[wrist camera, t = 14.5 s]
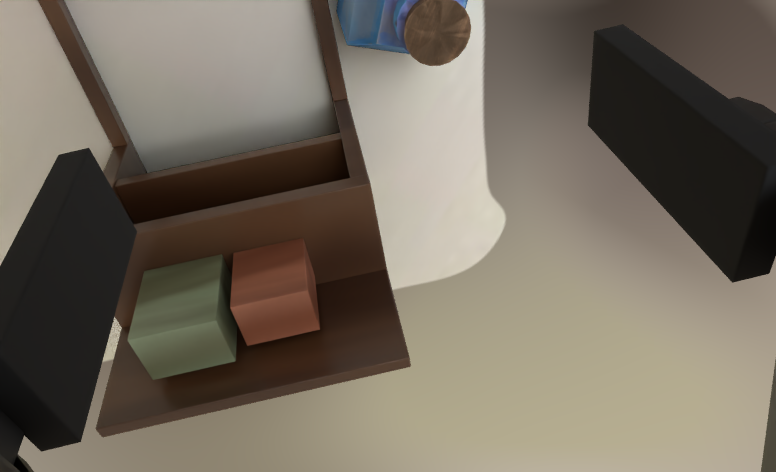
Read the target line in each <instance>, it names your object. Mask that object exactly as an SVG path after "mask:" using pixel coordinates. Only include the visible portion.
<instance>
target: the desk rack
mask: <svg viewBox="0 0 776 472" xmlns="http://www.w3.org/2000/svg"><path fill="white" fill-rule="evenodd" d="M38 1H39V3H40V5H41V7H42V9H43V11H44V13H45V15H46V17H47V19H48V21H49V22H50V24H51V26H52V28H53V30H54V32H55V34H56V36H57V38H58V40H59V42H60V44H61V46H62V48H63V50H64V52H65V54H66V56H67V58H68V60H69V62H70V64H71V66H72V68H73V70H74V72H75V74H76V76H77V78H78V80H79V81H80V83H81V85H82V87H83V89H84V91H85V93H86V95H87V97H88V99H89V101H90V103H91V105H92V107H93V109H94V111H95V113H96V115H97V117H98V119H99V121H100V123H101V125H102V127H103V129H104V131H105V133H106V135H107V137H108V139H109V141H110V142H111V144H112V146H113V147H114V148H113V150H112V153H111V155H110V158H109V160H108V162H107V165H106V167H105V170H104V172H103V173H104V175H105V177H106V178H107V180H108V182H109V183H110V185H111V187H112V189H113V190H114V192H115V194H116V196H117V197H118V199H119V201H120V202H121V204H122V206H123V208H124V209H125V211H126V213H127V215H128V216H129V218H130V220H131V221H132V223H133V225H134V227H135V228H136V230H137V234H136V238H135V241H134V245H133V249H132V252H131V256H130V260H129V264H128V267H127V271H126V275H125V279H124V282H123V286H122V290H121V293H120V297H119V301H118V305H117V308H116V312H115V318H116V319H117V321H118V322H119V324H120V326H121V327H122V329H121V333H120V337H119V341H118V345H117V349H116V353H115V356H114V360H113V364H112V368H111V372H110V376H109V380H108V383H107V387H106V391H105V395H104V399H103V403H102V407H101V410H100V414H99V418H98V422H97V426H96V430H97V432H98V433H99V434H100V435H101V436H102V437H107V436H111V435H115V434H120V433H123V432H128V431H133V430H137V429H141V428H146V427H150V426H154V425H159V424H163V423H167V422H172V421H176V420H181V419H185V418H188V417H193V416H198V415H202V414H207V413H211V412H215V411H220V410H224V409H228V408H233V407H237V406H241V405H245V404H250V403H254V402H258V401H263V400H267V399H272V398H276V397H281V396H284V395H289V394H294V393H298V392H302V391H306V390H311V389H315V388H320V387H324V386H328V385H333V384H337V383H342V382H346V381H350V380H355V379H359V378H363V377H368V376H372V375H376V374H381V373H385V372H389V371H394V370H398V369H403V368H406V367H410V366H411V364H410V358H409V354H408V350H407V346H406V342H405V338H404V334H403V331H402V326H401V323H400V319H399V315H398V311H397V307H396V303H395V299H394V295H393V291H392V287H391V283H390V279H389V275H388V271H387V267H386V262H385V257H384V252H383V246H382V241H381V236H380V231H379V226H378V221H377V216H376V210H375V205H374V200H373V195H372V190H371V185H370V181H369V177H368V174H367V170H366V166H365V162H364V159H363V155H362V151H361V147H360V144H359V140H358V136H357V132H356V129H355V125H354V121H353V117H352V114H351V110H350V106H349V102H348V99H347V93H346V88H345V84H344V79H343V74H342V69H341V64H340V59H339V54H338V49H337V44H336V39H335V34H334V29H333V24H332V19H331V14H330V9H329V4H328V0H311V2H312V7H313V11H314V16H315V20H316V25H317V30H318V34H319V39H320V43H321V48H322V52H323V57H324V61H325V66H326V71H327V75H328V80H329V84H330V89H331V93H332V98H333V102H334V107H335V112H336V116H337V121H338V125H339V130H340V133H336V134H331V135H327V136H322V137H317V138H312V139H308V140H303V141H298V142H293V143H289V144H284V145H279V146H275V147H270V148H265V149H260V150H256V151H251V152H246V153H241V154H237V155H232V156H227V157H222V158H218V159H213V160H208V161H203V162H199V163H194V164H189V165H185V166H180V167H175V168H170V169H166V170H161V171H156V172H151V173H147V172H146V170H145V168H144V166H143V164H142V162H141V160H140V158H139V156H138V154H137V152H136V150H135V148H134V145H133V143H132V141H131V139H130V137H129V135H128V133H127V131H126V128H125V126H124V124H123V122H122V120H121V118H120V116H119V114H118V112H117V110H116V108H115V106H114V104H113V101H112V99H111V97H110V95H109V93H108V91H107V89H106V87H105V85H104V83H103V81H102V79H101V77H100V74H99V72H98V70H97V68H96V66H95V64H94V62H93V60H92V58H91V56H90V54H89V52H88V50H87V47H86V45H85V43H84V41H83V39H82V37H81V35H80V33H79V31H78V29H77V27H76V25H75V23H74V20H73V18H72V16H71V14H70V12H69V10H68V8H67V6H66V4H65V2H64V0H38Z"/></svg>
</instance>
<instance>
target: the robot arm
mask: <svg viewBox="0 0 776 472" xmlns="http://www.w3.org/2000/svg"><path fill="white" fill-rule="evenodd" d="M592 58H593V59H592V73H591V87H590V102H589V103H590V104H589V118H588V126H589V127H590V128H591V129H592V130H593V131H594V132H595V133H596V134H597V135H598V137H599V138H600V139H601V140H602V141H603V142H604V143H605V144H606V145H607V146H608V147H609V149H610V150H611V151H612V152H613V153H614V154H615V155H616V156H617V157H618V158H619V159H620V161H621V162H622V163H623V164H624V165H625V166H626V167H627V168H628V169H629V170H630V172H631V173H632V174H633V175H634V176H635V177H636V178H637V179H638V180H639V181H640V182H641V184H642V185H643V186H644V187H645V188H646V189H647V190H648V191H649V192H650V193H651V194H652V196H653V197H654V198H656V200H657V201H658V202H659V203H660V204H661V205H662V206H663V207H664V209H666V211H667V212H668V213H669V214H670V215H671V216H672V217H673V218H674V219H675V221H676V222H677V223H678V224H679V225H680V226H681V227H682V228H683V229H684V230H685V231H686V233H687V234H688V235H689V236H690V237H691V238H692V239H693V240H694V241H695V242H696V243H697V245H698V246H700V248H701V249H702V250H703V251H704V252H705V253H706V254H707V255H708V256H709V258H710V259H711V260H712V261H713V262H714V263H715V264H716V265H717V266H718V267H719V268H720V270H721V271H722V272H723V273H724V274H725V275H726V276H727V277H728V278H729V279H730V281H732V282H737V281H741V280H745V279H749V278H753V277H757V276H761V275H766V274H769V273H770V270H771V267H772V265H773V262H774V259H775V256H776V113H774V112H773V111H771V110H770V109H768V108H767V107H765V106H764V105H761V104H758V103H755V102H753V101H749V100H747V99H744V98H741V97H736V98H732V99H728V98H726V97H725V96H724V95H722V94H721V93H719V92H718V91H717V90H715V89H714V88H712V87H711V86H709V85H708V84H707V83H705V82H704V81H702V80H701V79H699V78H698V77H696V76H695V75H694V74H692V73H691V72H690V71H688V70H687V69H685V68H684V67H683V66H681V65H680V64H678V63H677V62H675V61H674V60H672V59H671V58H670V57H668V56H667V55H666V54H664V53H663V52H661V51H660V50H658V49H657V48H656V47H654V46H653V45H651V44H650V43H648V42H647V41H646V40H644V39H643V38H641V37H640V36H639V35H637V34H636V33H634V32H633V31H631V30H630V29H629V28H627V27H626V26H624V25H618V26H614V27H610V28H606V29H602V30H597V31H594V42H593V57H592ZM136 234H137V230H136V228H135V227H134V225H133V223H132V221H131V220H130V218H129V216H128V215H127V213H126V211H125V209H124V208H123V206H122V204H121V202H120V201H119V199H118V197H117V196H116V194H115V192H114V190H113V189H112V187H111V185H110V183H109V182H108V180H107V178H106V177H105V175H104V173H103V171H102V170H101V168H100V166H99V164H98V163H97V161H96V159H95V158H94V156H93V154H92V152H91V151H90V149H89V148H86V149H82V150H78V151H73V152H69V153H65V154H60V155H58V157H57V159H56V161H55V163H54V165H53V167H52V169H51V170H50V172H49V174H48V176H47V178H46V180H45V182H44V184H43V186H42V188H41V190H40V191H39V193H38V195H37V197H36V199H35V201H34V203H33V205H32V207H31V209H30V210H29V212H28V214H27V216H26V218H25V220H24V222H23V224H22V226H21V228H20V230H19V231H18V233H17V235H16V237H15V239H14V241H13V243H12V245H11V247H10V249H9V250H8V252H7V254H6V256H5V258H4V260H3V262H2V264H1V266H0V472H34V471H33V470H32V469H31V467H30V466H29V465H28V463H27V462H26V461H25V460H24V459H22V458H21V457H20V456H19V455H18V451H19V448H20V445H21V443H22V440H23V437H24V435H25V436H26V437H27V438H28V439H29V440H30V441H31V442H32V443H33V444H34V445H35V446H36V447H37V448H38V449H39V450H40V451H45V450H49V449H53V448H57V447H62V446H65V445H70V444H74V443H78V442H81V439H82V435H83V431H84V428H85V424H86V420H87V416H88V413H89V409H90V405H91V401H92V398H93V394H94V390H95V386H96V383H97V379H98V375H99V372H100V368H101V364H102V361H103V357H104V353H105V349H106V346H107V342H108V338H109V334H110V331H111V327H112V323H113V320H114V316H115V312H116V308H117V305H118V301H119V297H120V293H121V290H122V286H123V282H124V279H125V275H126V271H127V267H128V264H129V260H130V256H131V252H132V249H133V245H134V241H135V238H136ZM761 472H776V361H775V369H774V376H773V384H772V392H771V400H770V408H769V415H768V422H767V430H766V438H765V445H764V453H763V460H762V468H761Z"/></svg>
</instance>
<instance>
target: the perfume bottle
mask: <svg viewBox="0 0 776 472" xmlns="http://www.w3.org/2000/svg"><path fill="white" fill-rule="evenodd" d="M467 1H468V0H338V4H337V10H336V11H337V14H338V18H339V21H340V24H341V27H342V30H343V33H344V36H345V40H346V43H347V45H351V46H358V47H364V48H371V49H378V50H385V51H392V52H399V53H406V54H411V56H412V57H413V58H414V59H416V60H417V61H418V62H420V63H422V64H425V65H429V66H440V65H443V64H446V63H449V62H451V61H452V60H453V59H455V58H456V57H458V56H459V55H460V53H461V52H462V51H463V50H464V49H465V47H466V45H467V43H468V40H469V38H470V31H471V24H470V19H469V16H468V14H467V12H466V10H465V8H466V5H467Z"/></svg>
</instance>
